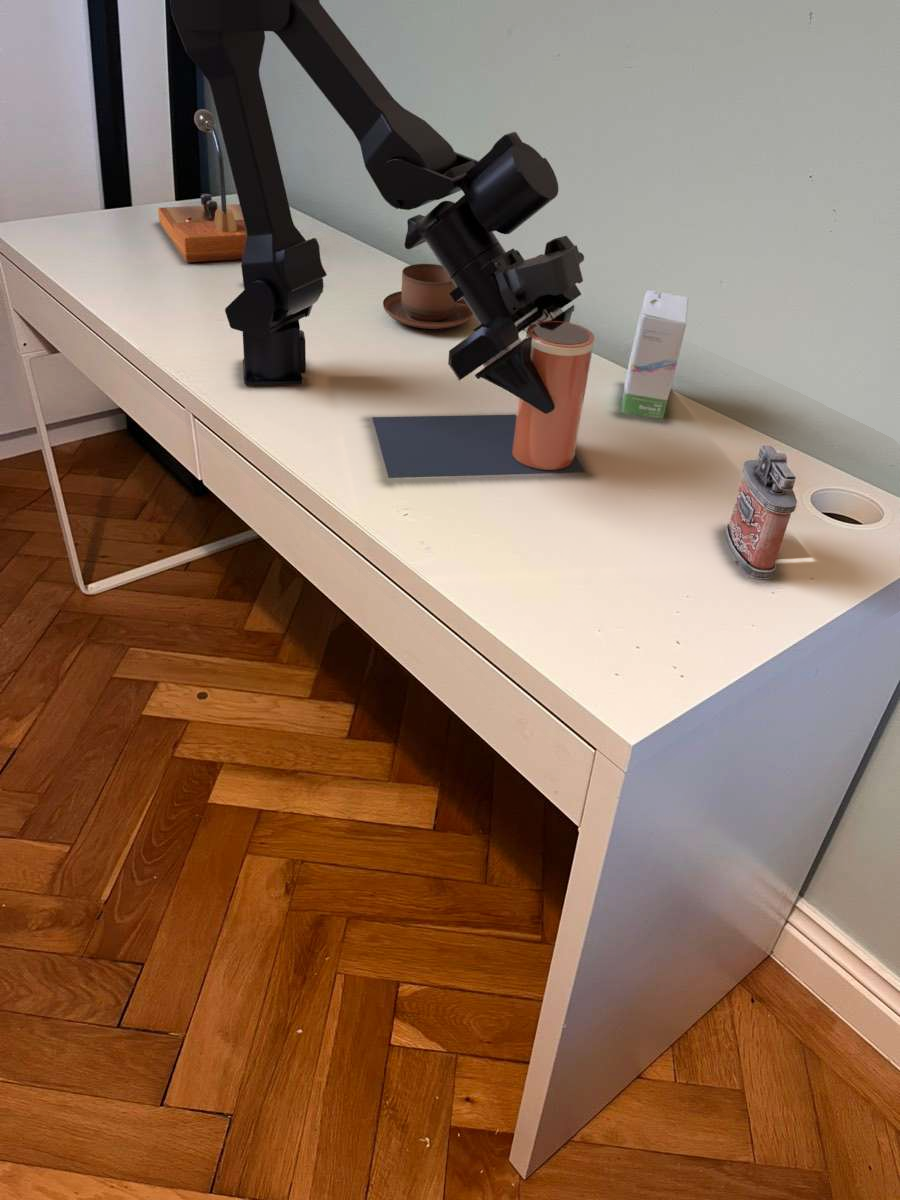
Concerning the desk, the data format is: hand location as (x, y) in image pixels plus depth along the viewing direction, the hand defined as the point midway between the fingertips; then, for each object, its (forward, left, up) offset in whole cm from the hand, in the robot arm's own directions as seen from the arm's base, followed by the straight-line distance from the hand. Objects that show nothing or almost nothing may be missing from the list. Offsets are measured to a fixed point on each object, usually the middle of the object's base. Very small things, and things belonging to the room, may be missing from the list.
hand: (564, 399), depth 97 cm
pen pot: (-1, +1, -7) cm, 7 cm away
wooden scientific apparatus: (-32, +66, -7) cm, 74 cm away
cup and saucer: (-6, +39, -7) cm, 41 cm away
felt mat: (-7, +4, -7) cm, 11 cm away
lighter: (+14, -18, -7) cm, 23 cm away
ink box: (+15, +13, -7) cm, 21 cm away
